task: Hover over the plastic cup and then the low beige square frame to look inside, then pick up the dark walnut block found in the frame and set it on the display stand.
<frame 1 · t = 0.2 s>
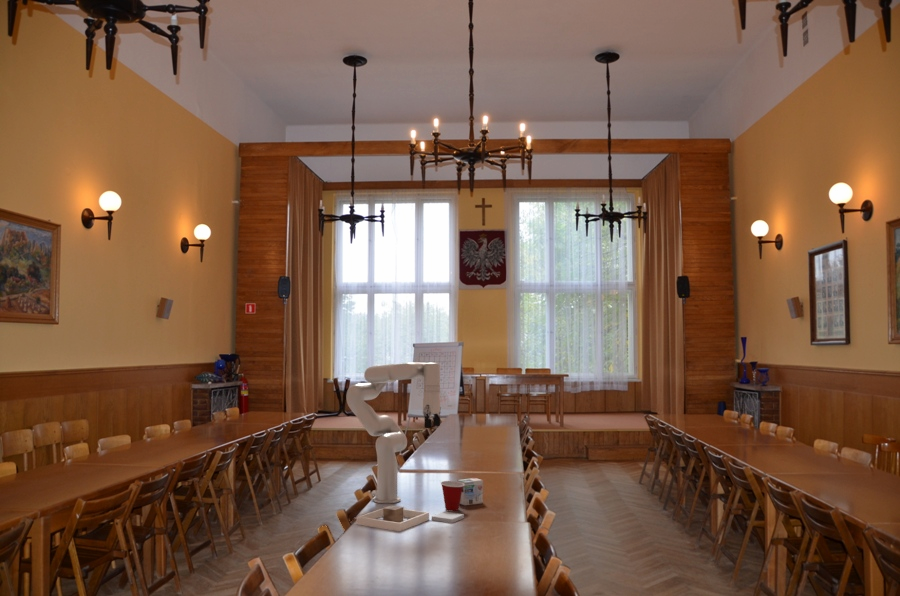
hand: (432, 427, 324), 36 cm above the table, tool pointing down, fingers open, 9 cm apart
walnut block: (393, 515, 294), in the beige square frame
display stand: (447, 519, 298), on the table
light bulb box: (470, 503, 329), on the table
beige square frame: (393, 522, 293), on the table
plastic cup: (452, 510, 316), on the table
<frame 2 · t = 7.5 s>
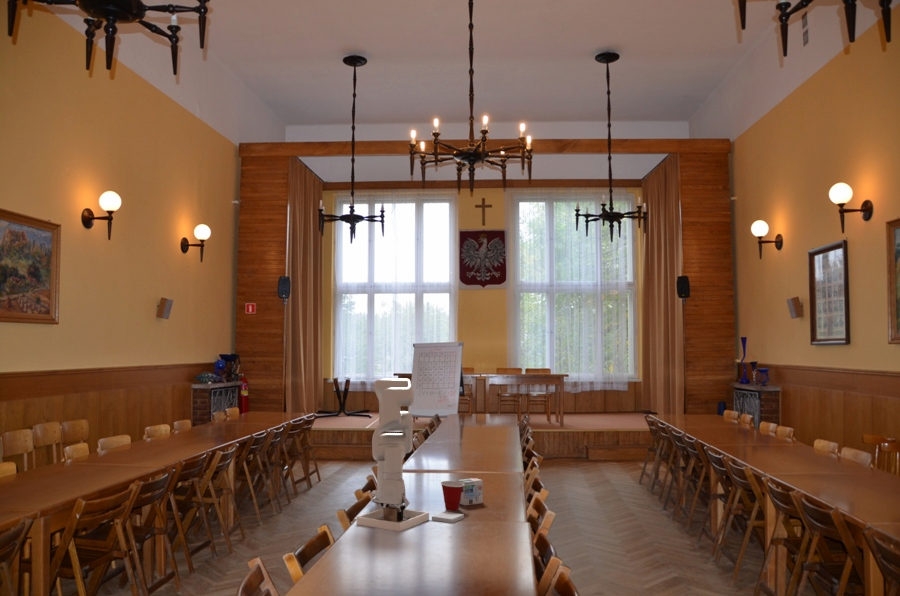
hand: (393, 519, 293), 1 cm above the table, tool pointing down, fingers closed on walnut block, 6 cm apart
walnut block: (393, 514, 294), in the beige square frame, touching gripper
everything else where it was.
when the fingers open (4 cm above the table, at t = 15.5 s): walnut block drops 1 cm, resting on display stand.
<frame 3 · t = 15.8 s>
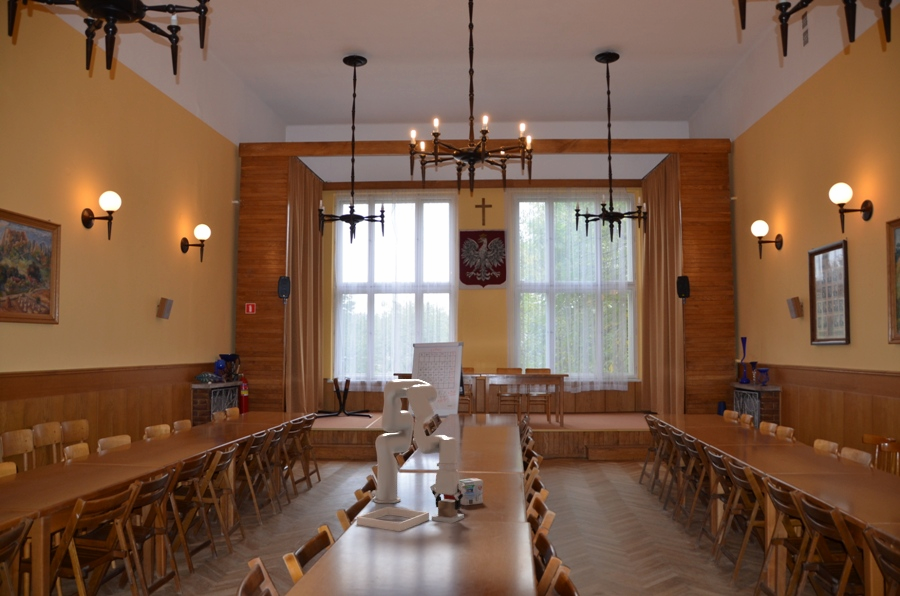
hand: (447, 507, 299), 5 cm above the table, tool pointing down, fingers open, 9 cm apart
walnut block: (447, 508, 299), on the display stand, point 4 cm above the table
everything else where it was.
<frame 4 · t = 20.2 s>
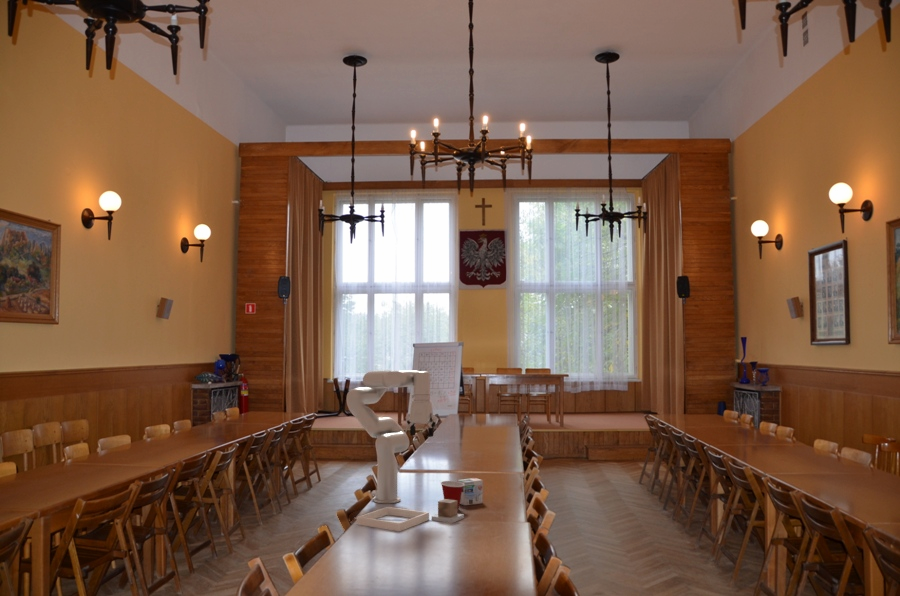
hand: (421, 435, 322), 32 cm above the table, tool pointing down, fingers open, 9 cm apart
nothing on the table moved.
at the end: walnut block inside the target area on the display stand (0.1 cm from its centre), point 4.5 cm above the display stand's base; walnut block tilted 0°; plastic cup moved 0.2 cm from its start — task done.
